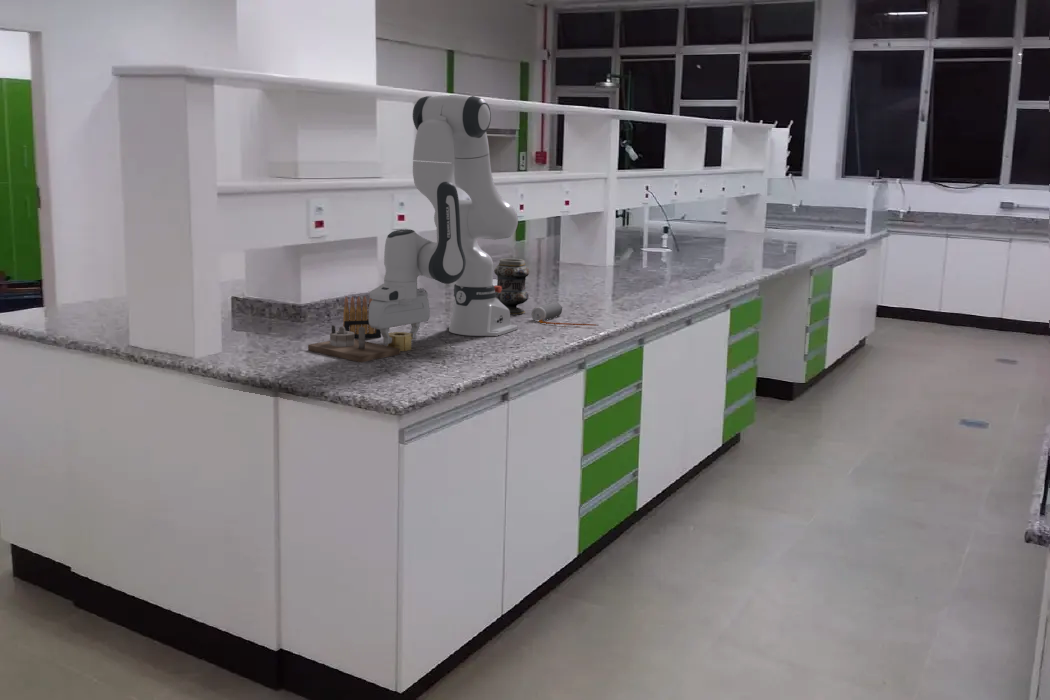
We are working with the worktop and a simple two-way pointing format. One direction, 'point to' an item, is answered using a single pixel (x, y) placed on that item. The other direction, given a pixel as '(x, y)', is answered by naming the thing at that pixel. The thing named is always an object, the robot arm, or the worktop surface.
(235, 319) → the worktop surface
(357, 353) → the gear board
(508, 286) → the apothecary jar
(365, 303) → the ammunition clip
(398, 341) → the octagonal hollow tube
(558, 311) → the motor
